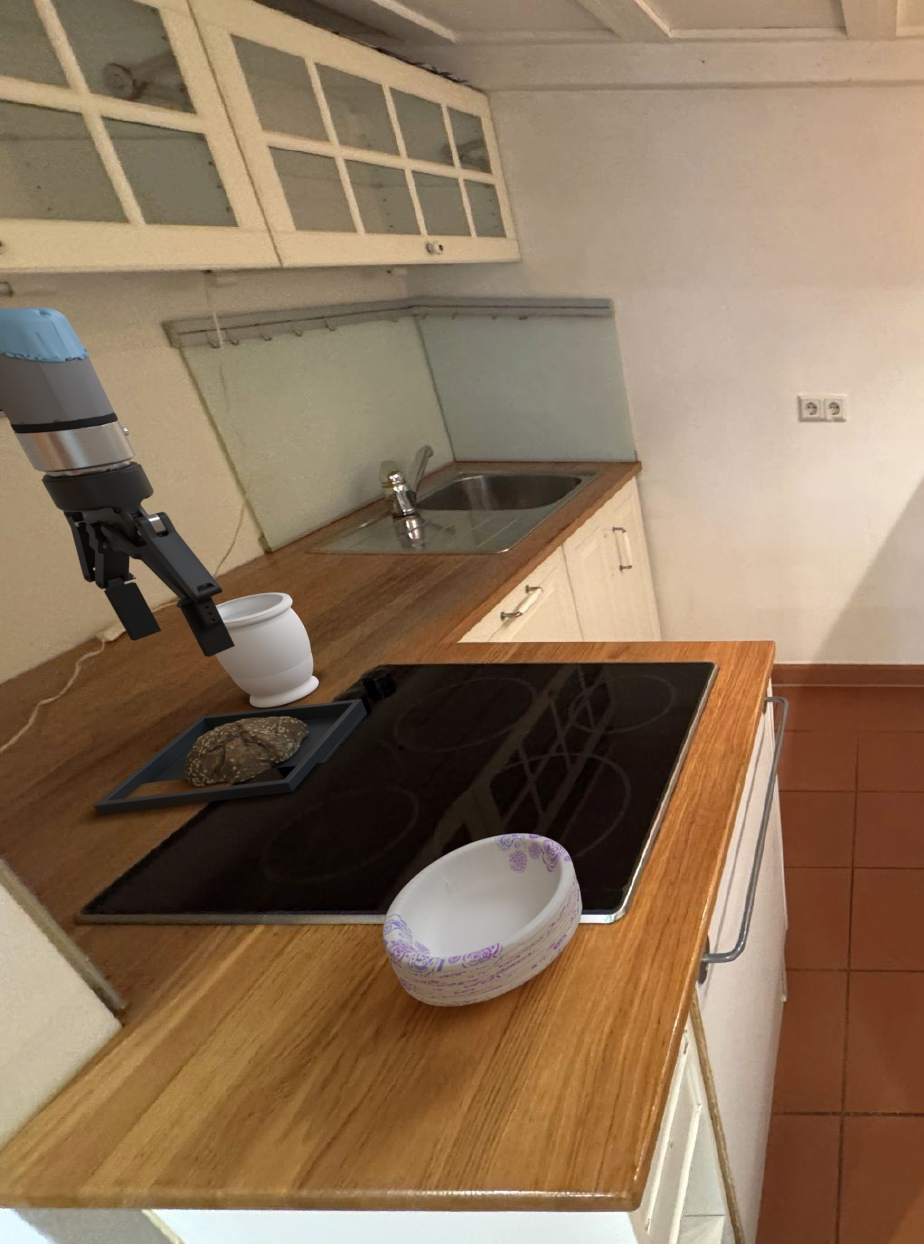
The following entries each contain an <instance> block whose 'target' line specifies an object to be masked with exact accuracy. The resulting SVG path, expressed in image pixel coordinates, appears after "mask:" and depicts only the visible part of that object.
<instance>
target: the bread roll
mask: <svg viewBox="0 0 924 1244" xmlns="http://www.w3.org/2000/svg"><path fill="white" fill-rule="evenodd" d="M307 729H308V726H307V725H306V724H305V723H303V722H302V721H300V720H298V719H297V718H292V717H283V716H282V717H272V716H271V717H268V718H256V717H255V718H249V719H242V720H239V721H236V722H234V723H230V724H224V725H222V726H220V727H215V729H214V730H212V731H209V732H207V733H206V734H204V735H202V736H200V737H199V738H198V739H197V740H196V742H195V743H194V744H193V746H192V749H191V750H190V753H189V754H188V756H187V761H186V765H184V767H185V776H186V779H185V781H186V782H187V783H188V784H189V785H191V786H192V787H196V788H205V787H208V786H214V785H216V784H220V783H231V784H234V783H236V784H237V783H241V782H245V781H248V780H250V779H252V778H255V777H257V776H259V775H260V774H262V773H264V772H266V771H267V770H270V769H271V768H272V767H274V766H276V765H278V764H280V763H282V762H284V761H286V760H288V759H289V758H290V757H291V756H292V755H293V754H294V753H295V752H296V751H297V750H298V748H299V747H300V743H301V741H302V740H303V739H304V738H305V737H307V736H308V734H309V732H308V731H307ZM272 769H273V768H272Z"/></svg>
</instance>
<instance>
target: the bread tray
mask: <svg viewBox="0 0 924 1244" xmlns="http://www.w3.org/2000/svg"><path fill="white" fill-rule="evenodd" d="M367 715H368V712H367V710H366V707H365V704H364V702H363V700H362V698H357V699H350V700H340V701H339V700H338V701H329V702H321V703H320V702H319V703H312V704H301V705H291V706H282V707H271V708H262V709H255V710H253V709H252V710H245V711H237V712H226V713H217V714H216V713H215V714H208V715H201V716H200V717H198V718H197V719H196V720H195V721H194V722H193V723H191V724H190V725H189V726H188V727H187V728H186V729H184V730H183V731H182V732H180V733H179V734H178V735H177V736H175V737H174V738H173V739H172V740H171V741H170V742H168V743H167V744H166V745H165V746H163V747H162V748H161V749H160V750H159V751H158V752H156V753H155V754H154V755H153V756H152V757H150V758H149V759H148V760H146V761H145V762H144V763H143V764H141V765H140V767H138V768H136V770H134V771H133V772H132V773H131V774H130V775H129V776H127V777H126V778H125V779H124V780H122V782H120V783H119V784H118V785H117V786H115V787H114V788H113V789H111V791H109V792H108V793H107V794H106V795H104V797H102V798H101V799H99V800H98V801H97V802H96V803H95V804H94V805H93V808H94V810H95V811H96V812H97V814H98V816H102V815H103V816H104V815H112V814H113V815H114V814H120V813H129V812H136V811H144V810H152V809H153V810H154V809H161V808H169V807H178V806H185V805H194V804H202V803H210V802H219V801H227V800H236V799H242V798H253V797H258V796H259V797H260V796H268V795H275V794H284V793H292V792H294V790H296V788H297V787H298V785H300V783H301V782H302V781H303V780H304V779H305V778H306V776H307V775H308V774H309V773H310V771H312V769H313V768H314V767H315V766H316V764H323V763H328V761H329V760H330V759H331V758H332V757H333V756H334V755H335V753H336V752H337V751H338V749H339V748H340V747H341V746H340V744H342V745H343V743H344V742H345V741H346V740H347V739H348V737H350V735H351V734H352V733H353V731H354V730H355V729H357V727H358V726H359V724H360V723H361V722H362V721H363V720H364V718H365V717H366V716H367ZM271 716H272V717H282V716H283V717H292V718H297V719H298V720H300V721H302V722H303V723H305V724H306V725H307V726H308V729H307V731H308V732H309V734H308V736H307V737H305V738H304V739H303V740H302V741H301V743H300V747H299V748H298V750H297V751H296V752H295V753H294V754H293V755H292V756H291V757H290V758H289V759H288V760H286V761H284V762H282V763H280V764H278V765H276V766H274V767H272V768H271V769H279V768H287V767H294V768H293V769H292V770H291V771H290V772H289V773H288V774H287V776H286V777H285V778H284V779H275V780H267V781H260V782H252V783H243V784H235V785H234V784H233V785H226V786H218V787H209V788H202V789H193V790H185V791H184V790H183V791H177V792H176V791H175V792H168V793H159V794H151V795H142V796H135V797H134V796H133V797H129V796H130V795H131V794H132V793H133V792H135V790H137V789H138V788H139V787H140V786H141V785H143V784H151V783H160V782H169V781H176V780H186V776H185V767H184V765H186V761H187V756H188V754H189V753H190V750H191V749H192V746H193V744H194V743H195V742H196V740H197V739H198V738H199V737H200V736H202V735H204V734H206V733H207V732H209V731H212V730H214V729H215V727H220V726H222V725H224V724H230V723H234V722H236V721H239V720H242V719H249V718H255V717H256V718H268V717H271ZM346 738H347V739H346ZM345 739H346V740H345ZM339 746H340V747H339ZM336 750H337V751H336Z"/></svg>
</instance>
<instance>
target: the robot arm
mask: <svg viewBox="0 0 924 1244" xmlns="http://www.w3.org/2000/svg"><path fill="white" fill-rule="evenodd" d="M110 401H111V400H110V399H109V397H108V396H107V393H106V391H105V389H104V387H103V385H102V382H101V381H100V378H99V376H98V375H97V372H96V369H95V368H94V365H93V363H92V361H91V359H90V354H89V351H88V349H87V348H86V347H84V345H83V343H82V341H81V340H80V337H79V335H78V334H77V333H76V331H75V330H74V328H73V326H72V324H71V323H70V321H69V320H68V318H67V316H65V314H63V313H61V312H60V311H58V310H57V309H54V308H51V307H46V306H45V307H43V306H41V307H37V306H36V307H17V308H16V307H11V308H10V307H9V308H0V412H3V413H4V415H5V416H6V418H7V420H8V421H9V424H10V427H11V429H12V431H13V434H14V436H15V438H16V440H17V441H18V443H19V445H20V447H21V449H22V450H23V452H24V453H25V456H26V457H27V459H28V461H29V463H30V464H31V466H32V468H33V469H34V470H35V471H38V472H43V473H44V475H43V476H42V479H41V482H42V484H43V486H44V487H45V490H46V491H47V493H48V495H49V497H50V499H51V500H52V502H53V504H54V506H55V507H56V508H57V509H59V510H60V511H62V513H63V515H64V517H65V519H66V521H67V523H68V525H69V527H70V529H71V530H70V531H71V534H72V539H73V542H74V547H75V550H76V553H77V557H78V562H79V566H80V570H81V573H82V576H83V579H84V581H86V582H87V583H89V584H90V583H95V585H96V586H97V588H99V589H100V590H103V592H104V595H105V596H106V598H107V600H108V602H109V604H110V605H111V607H112V609H113V611H114V612H115V614H116V616H117V618H118V620H119V622H120V623H121V625H122V626H123V628H124V630H125V632H126V634H127V636H128V637H129V639H130V641H134V642H135V641H138V640H141V639H143V638H146V637H149V636H151V635H154V634H157V633H159V632H161V631H162V629H161V627H160V625H159V623H158V621H157V619H156V618H155V616H154V614H153V612H152V610H151V608H150V606H149V604H148V602H147V601H146V599H145V597H144V595H143V593H142V591H141V589H140V587H139V586H138V584H137V582H135V581H133V580H136V579H137V577H136V576H135V575H134V574H132V572H130V559H133V560H136V561H137V560H139V561H141V562H142V563H143V564H144V565H145V566H146V567H147V568H148V569H150V571H151V572H152V573H153V574H154V575H155V576H156V577H157V578H158V579H159V580H160V581H161V582H162V583H163V584H164V585H166V587H167V588H168V589H169V590H170V591H171V592H172V593H173V594H174V595H175V596H176V597H177V598H178V600H177V602H176V607H177V608H178V609H180V610H181V612H182V614H183V617H184V618H185V620H186V622H187V624H188V626H189V629H190V630H191V632H192V634H193V636H194V639H195V640H196V642H197V644H198V645H199V647H200V649H201V651H202V653H203V655H204V657H207V658H210V657H213V656H216V655H215V654H217V653H220V652H222V651H224V650H227V649H229V648H231V647H234V646H235V645H234V643H233V641H232V639H231V636H230V634H229V632H228V630H227V628H226V626H225V624H224V622H223V620H222V618H221V616H220V614H219V612H218V610H217V608H216V606H217V605H216V603H215V602H214V600H213V597H215V596H217V595H220V594H222V593H223V589H222V587H221V586H220V584H219V583H218V582H217V580H216V579H215V578H214V576H212V574H211V573H210V572H209V570H208V569H207V568H206V566H205V565H204V564H203V563H202V561H201V560H200V559H199V557H197V555H196V554H195V552H194V551H193V550H192V549H191V548H190V546H189V545H188V543H187V542H186V541H185V540H184V539H183V538H182V536H181V535H180V533H179V532H178V531H177V529H176V527H175V526H174V524H173V522H172V520H171V519H170V516H169V515H168V514H167V512H165V511H160V512H156V513H152V514H151V513H150V514H149V513H148V512H147V511H146V510H145V508H144V507H143V506H142V502H143V501H144V500H147V499H150V497H152V496H153V494H154V488H153V486H152V484H151V482H150V480H149V478H148V476H147V474H146V472H145V470H144V468H143V466H142V464H140V463H138V462H137V461H132V459H134V458H135V456H136V453H135V451H134V449H133V447H132V445H131V443H130V440H129V439H128V436H129V435H130V432H129V429H128V428H127V427H124V426H122V424H121V423H120V420H119V417H118V416H117V414H116V412H115V409H114V407H113V406H112V404H111V402H110ZM127 582H128V583H127Z"/></svg>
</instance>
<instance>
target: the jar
mask: <svg viewBox="0 0 924 1244" xmlns="http://www.w3.org/2000/svg"><path fill="white" fill-rule="evenodd" d="M292 605H293V598H292V597H291V596H290V595H289V594H288V593H285V592H263V593H257V594H251V595H246V596H242V597H238V598H234V599H231V600H227V601H225V602H222V603H219V604H217V605H215V606H216V608H217V610H218V612H219V614H220V616H221V618H222V620H223V622H224V624H225V626H226V628H227V630H228V632H229V634H230V636H231V639H232V641H233V643H234V645H235V646H234V647H231V648H229V649H227V650H224V651H222V652H220V653H217V654H215V655H214V656H215V657H216V659H217V660H218V662H219V663H220V665H221V667H222V668H223V669H224V670H225V671H226V672H227V674H228V675H229V676H230V678H231V679H232V680H233V682H234V683H235V684H236V685H237V686H238V687H239V688H240V689H241V690H242V691H243V692H245V693H247V694H248V695H250V697H249V703H250V705H251V706H253V707H255V708H259V709H260V708H261V709H269V708H276V707H280V706H284V705H288V704H291V703H293V702H296V701H299V700H300V699H303V698H305V697H307V696H308V695H310V694H312V693H313V692H314V691H315V690H316V689H317V688H318V686H319V684H320V681H319V679H318V678H317V677H316V676H314V675H313V672H314V658H313V652H312V649H311V642H310V639H309V635H308V632H307V630H306V627H305V626H304V624H303V622H302V620H301V619H300V617H299V615H298V614H297V613H296V612H295V610H294V609H293V608H292Z"/></svg>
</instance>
